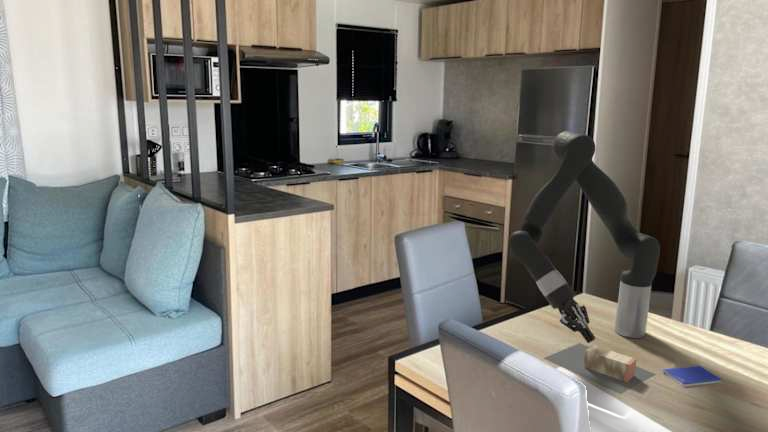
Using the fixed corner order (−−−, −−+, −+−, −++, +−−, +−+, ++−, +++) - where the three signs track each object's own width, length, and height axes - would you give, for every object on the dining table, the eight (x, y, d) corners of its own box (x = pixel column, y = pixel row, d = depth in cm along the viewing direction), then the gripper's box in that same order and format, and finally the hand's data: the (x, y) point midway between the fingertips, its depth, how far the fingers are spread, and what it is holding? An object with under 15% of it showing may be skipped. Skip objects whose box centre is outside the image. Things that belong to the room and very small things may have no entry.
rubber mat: (579, 344, 175) (579, 343, 174) (655, 376, 156) (655, 374, 156) (543, 360, 164) (543, 358, 164) (620, 395, 145) (620, 393, 145)
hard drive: (683, 383, 150) (721, 378, 153) (662, 368, 158) (698, 364, 161) (682, 388, 151) (721, 384, 154) (661, 373, 159) (697, 369, 162)
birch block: (585, 350, 158) (629, 365, 150) (592, 345, 162) (636, 359, 154) (583, 366, 159) (627, 382, 151) (590, 361, 163) (634, 375, 155)
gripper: (554, 287, 157) (592, 342, 152) (574, 277, 167) (611, 328, 161) (535, 300, 162) (571, 354, 156) (556, 290, 171) (591, 339, 166)
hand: (591, 340), depth 159 cm, fingers closed
